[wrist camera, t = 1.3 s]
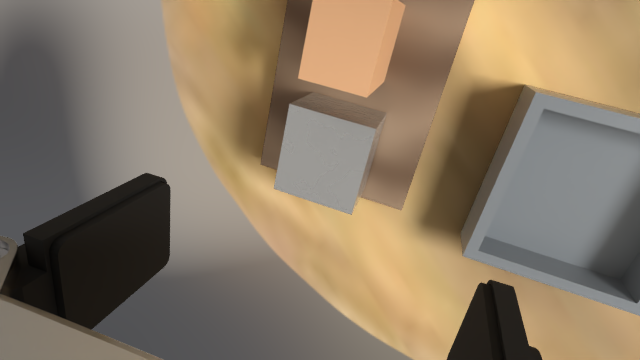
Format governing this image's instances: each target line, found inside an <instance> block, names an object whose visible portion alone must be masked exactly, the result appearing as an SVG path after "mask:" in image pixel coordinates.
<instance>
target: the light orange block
mask: <svg viewBox="0 0 640 360" xmlns="http://www.w3.org/2000/svg"><path fill="white" fill-rule="evenodd" d="M405 6H406V5H404V4H403V3H402V2H400V1H399V0H313V1H312V7H311V12H310V17H309V22H308V28H307V33H306V38H305V44H304V49H303V54H302V59H301V65H300V70H299V75H298V79H302V80H305V81H309V82H312V83H316V84H320V85H323V86H327V87H330V88H334V89H338V90H341V91H345V92H348V93H352V94H356V95H359V96H363V97H366V98H367V97H368V96H369V95H370V94H371V93H373V92H374V91H375V90H376V89H377V88H378V87H379V86H380V85H381V84H382V83H383V82H384V80H385V77H386V73H387V70H388V66H389V63H390V59H391V56H392V52H393V48H394V45H395V41H396V38H397V34H398V31H399V27H400V24H401V20H402V16H403V13H404V9H405Z"/></svg>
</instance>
